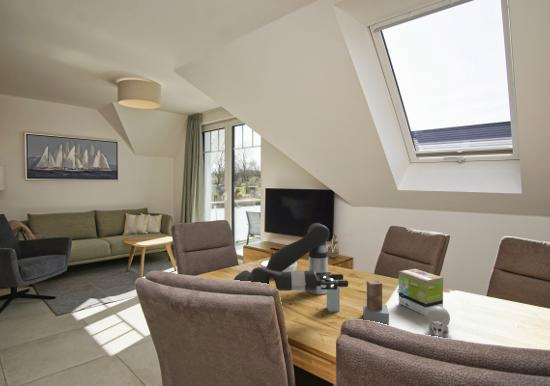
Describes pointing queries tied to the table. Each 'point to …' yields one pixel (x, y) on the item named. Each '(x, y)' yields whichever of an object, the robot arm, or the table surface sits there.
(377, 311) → the grey block
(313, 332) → the table surface
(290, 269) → the serving bowl
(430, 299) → the tea box
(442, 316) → the round bodied animal figurine
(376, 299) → the walnut block
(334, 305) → the bluegrey block
